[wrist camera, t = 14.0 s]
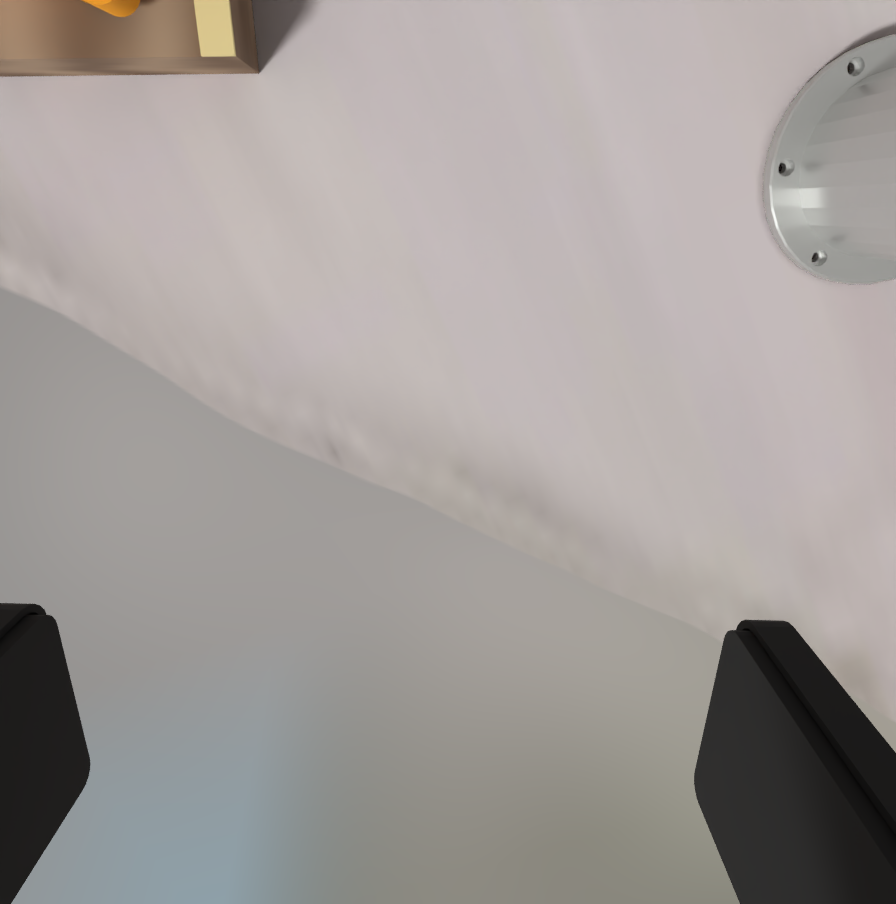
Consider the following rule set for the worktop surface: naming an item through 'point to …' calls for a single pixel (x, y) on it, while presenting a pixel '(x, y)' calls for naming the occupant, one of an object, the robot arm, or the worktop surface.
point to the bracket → (116, 6)
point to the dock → (127, 38)
